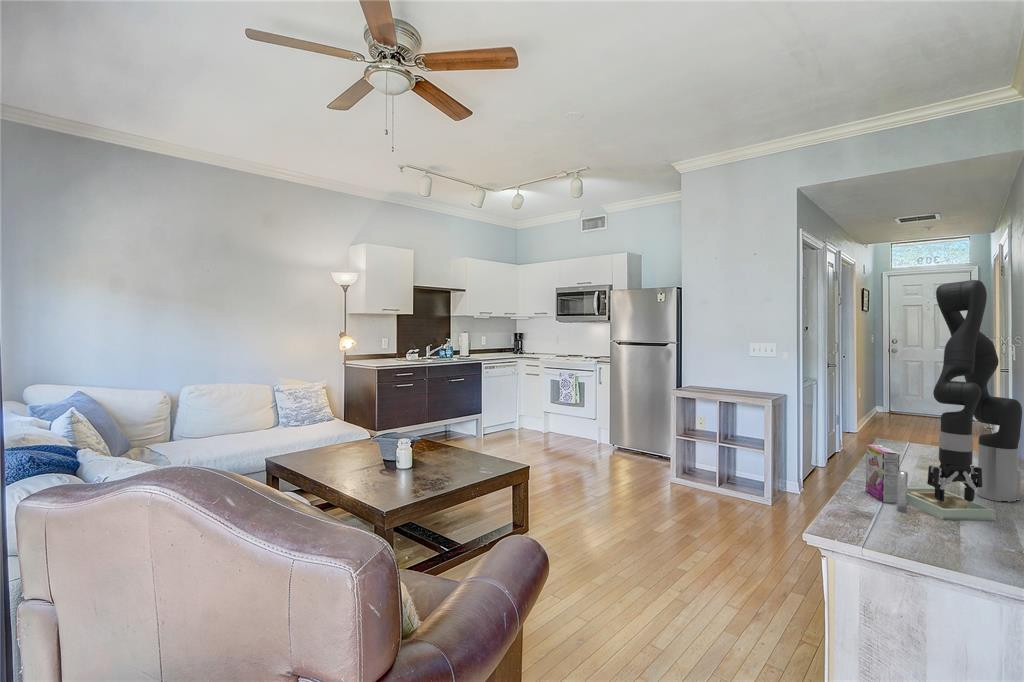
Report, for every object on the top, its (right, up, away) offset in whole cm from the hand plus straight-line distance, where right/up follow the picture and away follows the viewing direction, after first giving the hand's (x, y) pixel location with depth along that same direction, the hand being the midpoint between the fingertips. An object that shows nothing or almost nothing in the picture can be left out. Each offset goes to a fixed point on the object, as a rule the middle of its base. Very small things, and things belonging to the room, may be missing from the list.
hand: (954, 500), depth 148 cm
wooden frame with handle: (0, -3, +5) cm, 5 cm away
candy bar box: (-11, -4, +14) cm, 19 cm away
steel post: (-14, -4, +2) cm, 15 cm away
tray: (0, -4, +5) cm, 6 cm away
